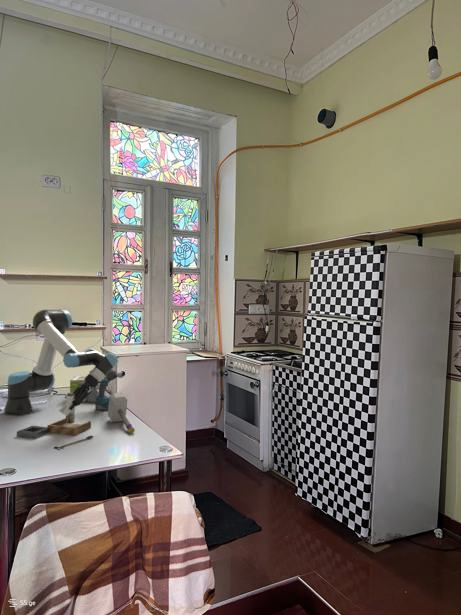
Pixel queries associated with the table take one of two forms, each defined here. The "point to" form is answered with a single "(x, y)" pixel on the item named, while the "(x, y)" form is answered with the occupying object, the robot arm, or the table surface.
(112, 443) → the table surface
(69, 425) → the brown wooden tray
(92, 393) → the grey box
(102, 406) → the impact wrench
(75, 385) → the tea box
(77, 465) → the table surface
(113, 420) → the hammer
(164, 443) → the table surface
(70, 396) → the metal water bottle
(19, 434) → the socket
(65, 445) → the tan and black strip
